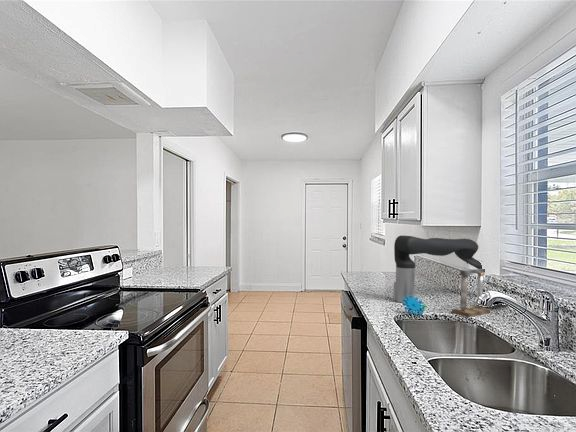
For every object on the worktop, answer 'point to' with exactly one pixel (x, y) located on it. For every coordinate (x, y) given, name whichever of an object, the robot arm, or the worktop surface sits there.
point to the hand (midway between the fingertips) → (483, 294)
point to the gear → (414, 305)
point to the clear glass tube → (480, 284)
